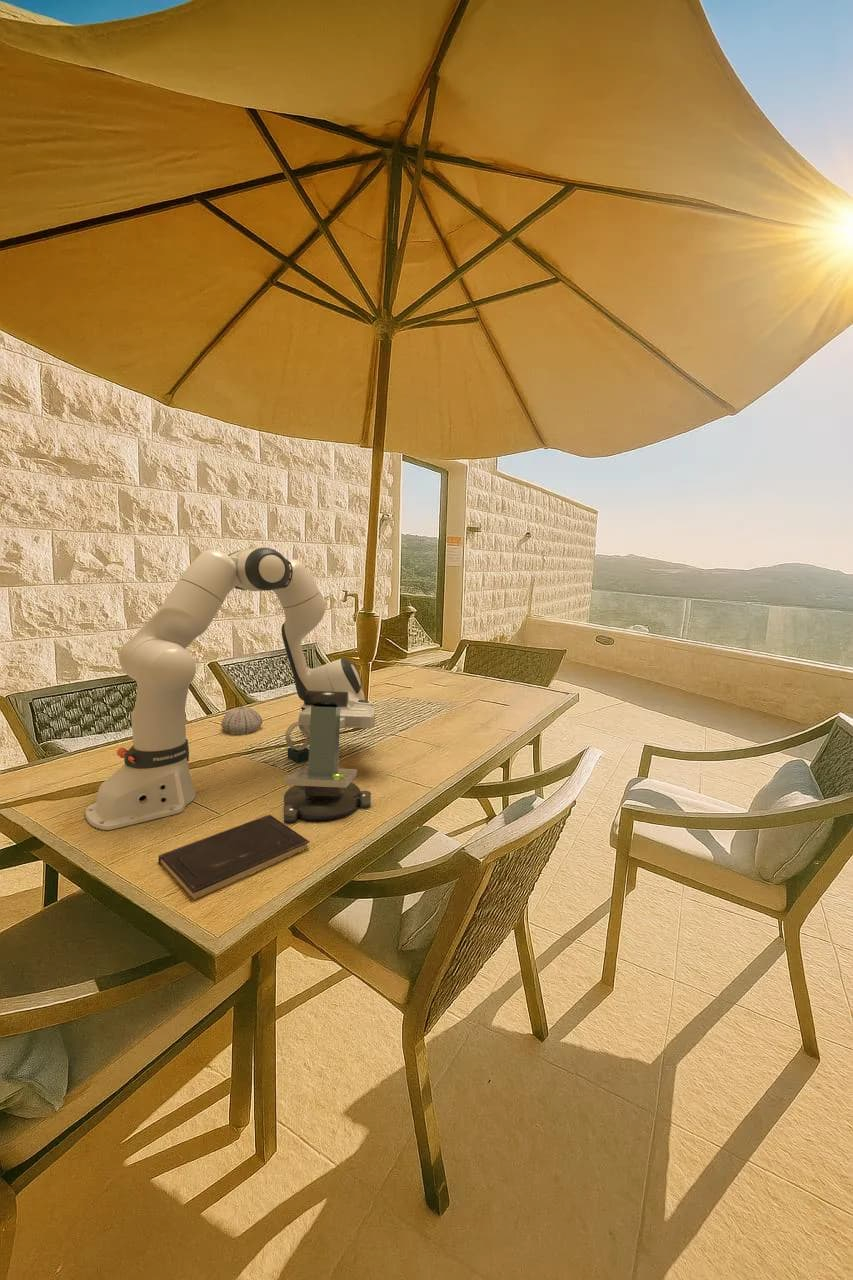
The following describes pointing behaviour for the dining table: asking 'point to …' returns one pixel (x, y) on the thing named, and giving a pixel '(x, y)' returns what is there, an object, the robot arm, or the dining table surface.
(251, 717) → the sea urchin shell
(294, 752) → the watch
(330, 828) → the dining table surface
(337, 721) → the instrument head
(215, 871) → the hardcover book
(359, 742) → the dining table surface
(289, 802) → the tribrach base
